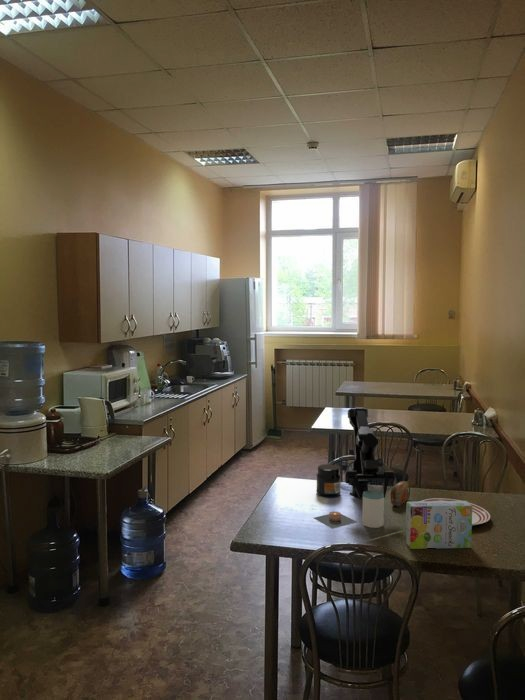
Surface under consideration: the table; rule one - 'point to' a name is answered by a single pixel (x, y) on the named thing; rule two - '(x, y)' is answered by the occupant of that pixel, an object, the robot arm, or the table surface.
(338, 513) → the brown pebble
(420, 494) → the table surface
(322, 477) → the supplement container
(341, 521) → the mat
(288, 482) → the table surface
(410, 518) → the snack box
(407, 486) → the tin
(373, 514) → the white canister
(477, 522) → the dinner plate
